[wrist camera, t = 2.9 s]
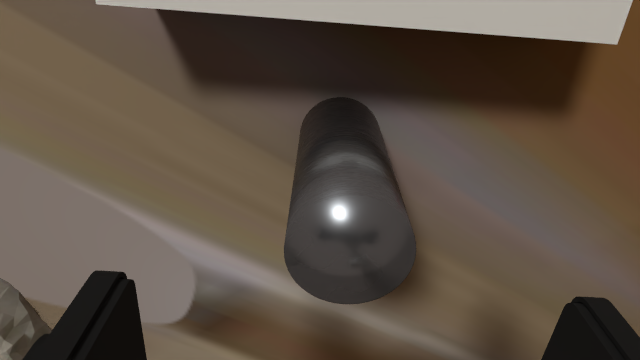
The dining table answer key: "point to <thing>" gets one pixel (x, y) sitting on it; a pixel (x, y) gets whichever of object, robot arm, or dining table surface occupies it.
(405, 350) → the dining table surface
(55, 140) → the dining table surface
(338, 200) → the metal pin
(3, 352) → the grey rough lump
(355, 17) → the bore block
